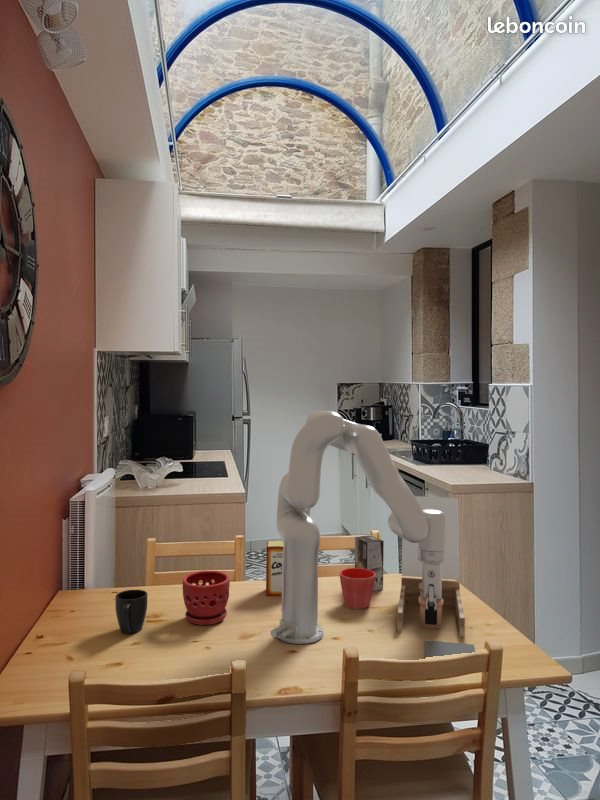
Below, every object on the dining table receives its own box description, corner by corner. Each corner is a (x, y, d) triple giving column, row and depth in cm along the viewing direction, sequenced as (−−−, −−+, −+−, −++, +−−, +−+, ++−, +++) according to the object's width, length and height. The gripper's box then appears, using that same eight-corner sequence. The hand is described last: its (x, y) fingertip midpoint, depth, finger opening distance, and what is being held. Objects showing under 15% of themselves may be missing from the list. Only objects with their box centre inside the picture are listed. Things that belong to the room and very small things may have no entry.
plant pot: (176, 615, 165) (177, 573, 165) (220, 608, 171) (220, 568, 171) (189, 632, 154) (190, 587, 154) (236, 623, 160) (236, 580, 160)
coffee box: (384, 589, 190) (384, 540, 190) (366, 592, 187) (367, 542, 187) (370, 581, 198) (371, 534, 198) (353, 583, 196) (354, 536, 196)
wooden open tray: (464, 637, 152) (464, 610, 152) (397, 631, 155) (397, 605, 155) (459, 604, 176) (459, 581, 176) (401, 599, 180) (401, 577, 180)
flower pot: (377, 611, 170) (377, 578, 170) (340, 610, 170) (340, 577, 170) (373, 599, 181) (373, 568, 181) (338, 598, 181) (338, 567, 181)
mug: (107, 642, 147) (107, 604, 147) (119, 624, 159) (120, 589, 159) (139, 642, 147) (140, 604, 147) (150, 623, 159) (150, 589, 159)
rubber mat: (478, 667, 135) (478, 665, 135) (425, 661, 137) (425, 660, 137) (473, 646, 146) (473, 644, 146) (425, 641, 149) (425, 640, 149)
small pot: (437, 631, 156) (437, 605, 156) (414, 625, 160) (414, 599, 160) (447, 623, 161) (447, 598, 161) (424, 617, 165) (424, 593, 165)
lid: (458, 498, 184) (458, 498, 186) (403, 495, 188) (403, 496, 190) (459, 579, 177) (458, 579, 178) (401, 575, 180) (401, 575, 182)
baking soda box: (295, 589, 189) (296, 540, 189) (295, 596, 183) (296, 545, 183) (266, 589, 189) (267, 540, 189) (265, 596, 183) (266, 545, 183)
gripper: (446, 564, 151) (445, 632, 151) (444, 548, 168) (443, 609, 168) (417, 562, 153) (416, 630, 153) (417, 546, 170) (417, 607, 170)
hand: (430, 618), depth 160 cm, fingers closed on small pot, 6 cm apart
